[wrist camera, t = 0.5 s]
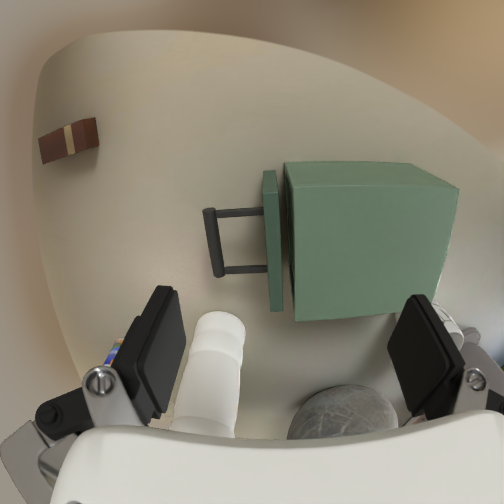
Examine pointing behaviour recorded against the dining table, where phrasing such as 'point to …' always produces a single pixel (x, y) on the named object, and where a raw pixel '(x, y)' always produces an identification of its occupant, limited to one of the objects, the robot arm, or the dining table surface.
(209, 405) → the water bottle
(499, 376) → the vase
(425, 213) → the cabinet
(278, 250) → the drawer
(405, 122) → the dining table surface
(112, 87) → the dining table surface
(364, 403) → the bowl
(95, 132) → the brown banded block
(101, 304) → the dining table surface
